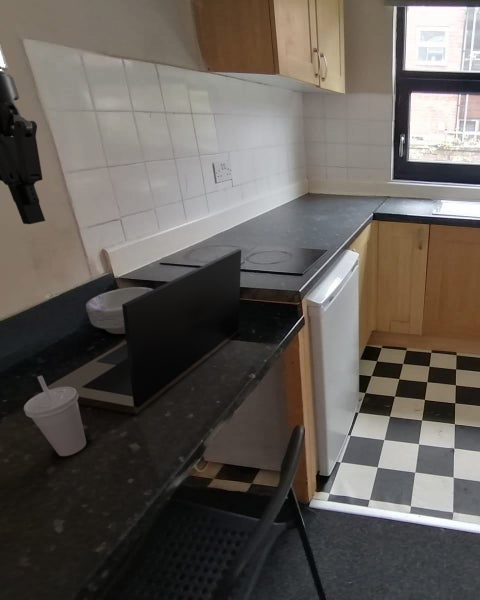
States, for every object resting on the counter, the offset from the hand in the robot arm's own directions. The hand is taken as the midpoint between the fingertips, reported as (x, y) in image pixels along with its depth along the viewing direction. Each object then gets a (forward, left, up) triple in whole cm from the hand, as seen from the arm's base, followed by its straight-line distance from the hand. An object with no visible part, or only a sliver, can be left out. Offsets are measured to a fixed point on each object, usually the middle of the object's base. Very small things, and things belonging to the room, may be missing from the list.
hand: (34, 222), depth 72 cm
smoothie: (+17, -18, -32) cm, 40 cm away
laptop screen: (+23, +6, -20) cm, 31 cm away
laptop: (+10, +6, -32) cm, 34 cm away
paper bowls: (-9, +19, -32) cm, 38 cm away
